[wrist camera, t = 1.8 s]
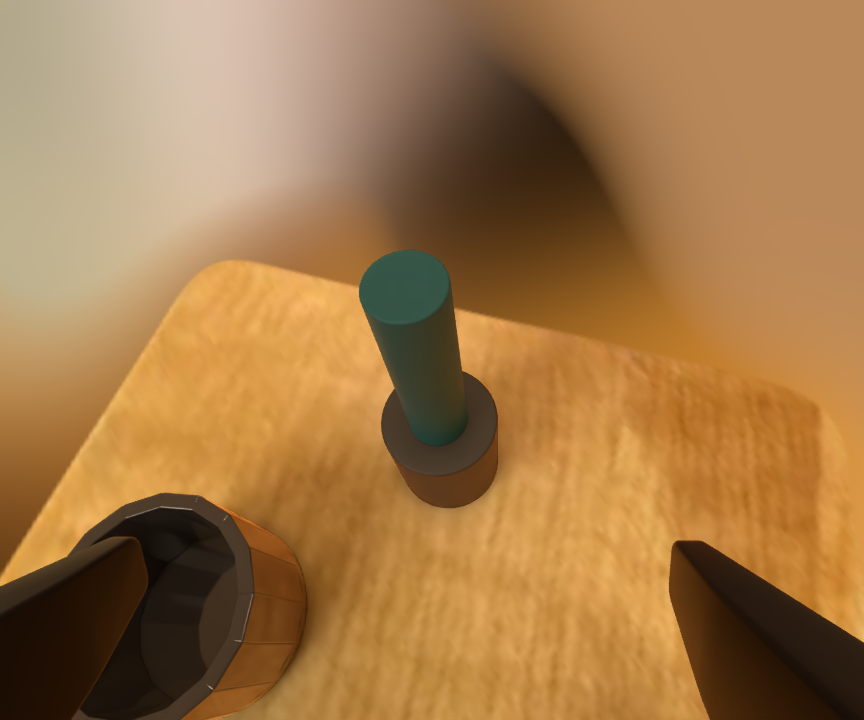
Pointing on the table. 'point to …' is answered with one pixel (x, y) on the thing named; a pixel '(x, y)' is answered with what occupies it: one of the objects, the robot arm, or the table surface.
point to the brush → (429, 382)
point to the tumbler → (198, 613)
